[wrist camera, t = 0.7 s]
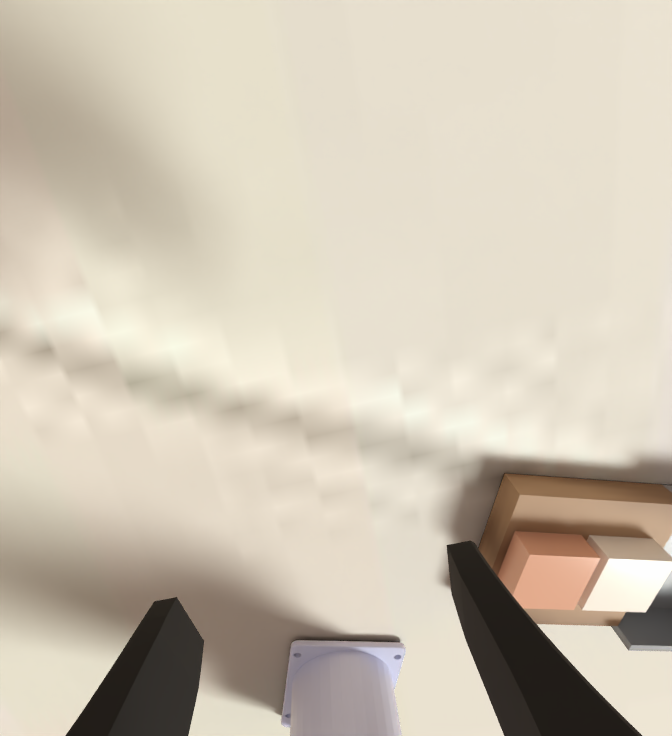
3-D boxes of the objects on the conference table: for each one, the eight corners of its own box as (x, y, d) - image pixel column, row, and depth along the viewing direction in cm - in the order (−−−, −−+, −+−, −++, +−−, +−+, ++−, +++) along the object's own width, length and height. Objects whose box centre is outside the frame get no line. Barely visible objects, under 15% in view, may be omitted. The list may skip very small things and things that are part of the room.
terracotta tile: (557, 584, 24) (574, 610, 22) (495, 582, 23) (507, 608, 22) (581, 534, 22) (600, 558, 21) (514, 531, 22) (529, 554, 20)
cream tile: (625, 587, 24) (645, 612, 23) (565, 585, 24) (582, 610, 22) (653, 538, 23) (676, 561, 21) (589, 535, 22) (609, 558, 21)
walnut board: (599, 600, 27) (617, 626, 26) (461, 595, 26) (471, 622, 25) (661, 484, 24) (688, 505, 22) (504, 473, 22) (520, 494, 21)
